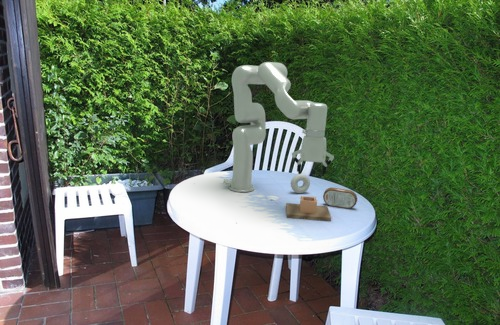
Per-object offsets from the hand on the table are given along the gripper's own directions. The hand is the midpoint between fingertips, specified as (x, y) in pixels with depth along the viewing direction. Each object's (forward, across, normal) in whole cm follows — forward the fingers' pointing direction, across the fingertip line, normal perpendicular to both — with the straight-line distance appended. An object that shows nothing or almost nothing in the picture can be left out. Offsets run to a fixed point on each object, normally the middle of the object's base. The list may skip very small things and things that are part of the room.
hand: (310, 174), depth 162 cm
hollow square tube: (+16, 0, 0) cm, 16 cm away
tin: (+18, +15, +12) cm, 26 cm away
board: (+17, 0, 0) cm, 17 cm away
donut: (+18, -2, +28) cm, 33 cm away
